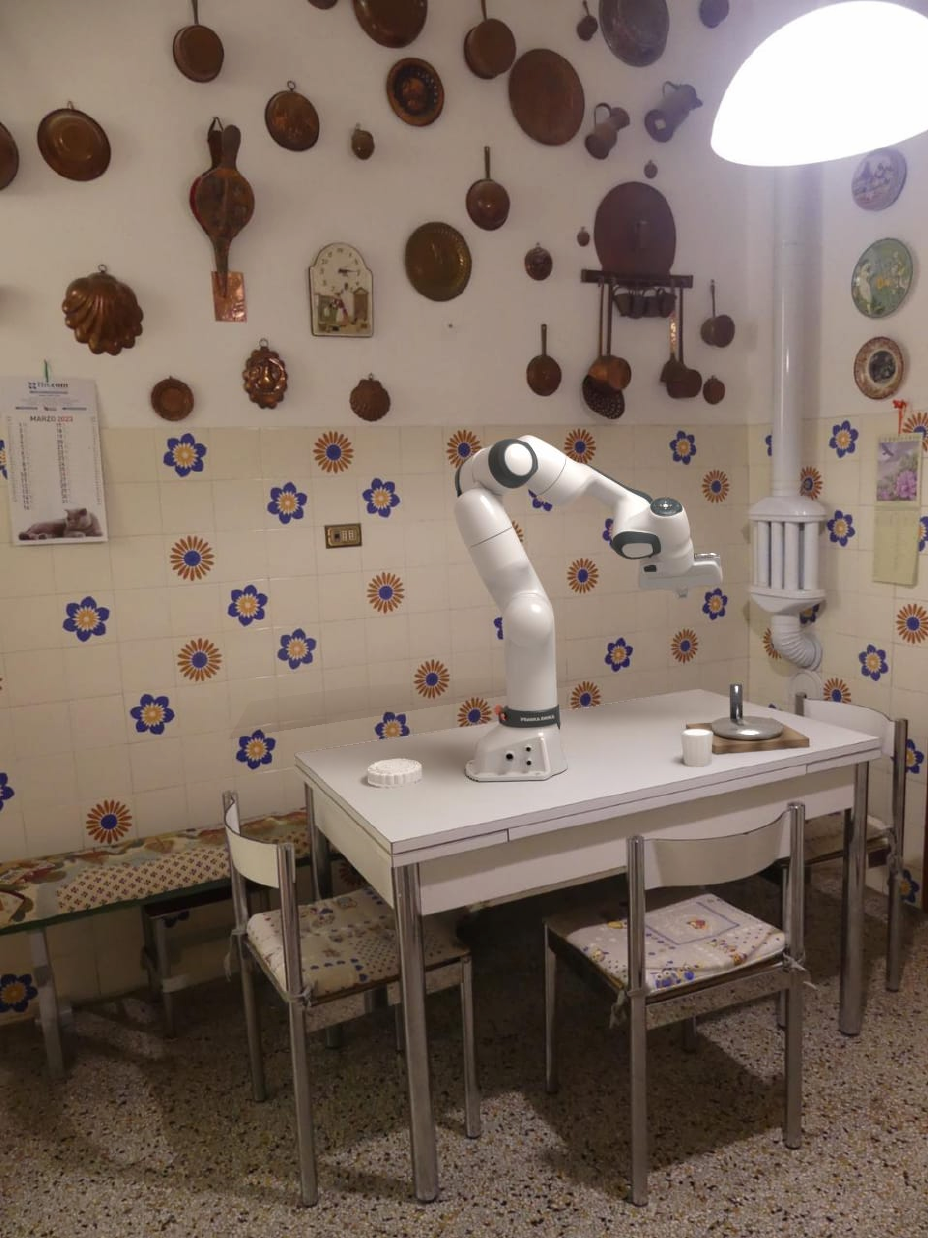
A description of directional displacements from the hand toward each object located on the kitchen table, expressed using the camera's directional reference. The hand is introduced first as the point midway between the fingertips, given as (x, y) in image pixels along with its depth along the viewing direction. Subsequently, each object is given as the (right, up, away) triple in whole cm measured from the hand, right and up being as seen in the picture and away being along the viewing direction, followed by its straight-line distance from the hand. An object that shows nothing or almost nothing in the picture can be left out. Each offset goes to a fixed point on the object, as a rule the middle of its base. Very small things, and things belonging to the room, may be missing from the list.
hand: (683, 596), depth 235 cm
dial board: (+12, -34, -12) cm, 38 cm away
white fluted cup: (-3, -37, -28) cm, 47 cm away
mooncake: (-70, -41, -28) cm, 86 cm away
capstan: (+12, -32, -13) cm, 36 cm away
